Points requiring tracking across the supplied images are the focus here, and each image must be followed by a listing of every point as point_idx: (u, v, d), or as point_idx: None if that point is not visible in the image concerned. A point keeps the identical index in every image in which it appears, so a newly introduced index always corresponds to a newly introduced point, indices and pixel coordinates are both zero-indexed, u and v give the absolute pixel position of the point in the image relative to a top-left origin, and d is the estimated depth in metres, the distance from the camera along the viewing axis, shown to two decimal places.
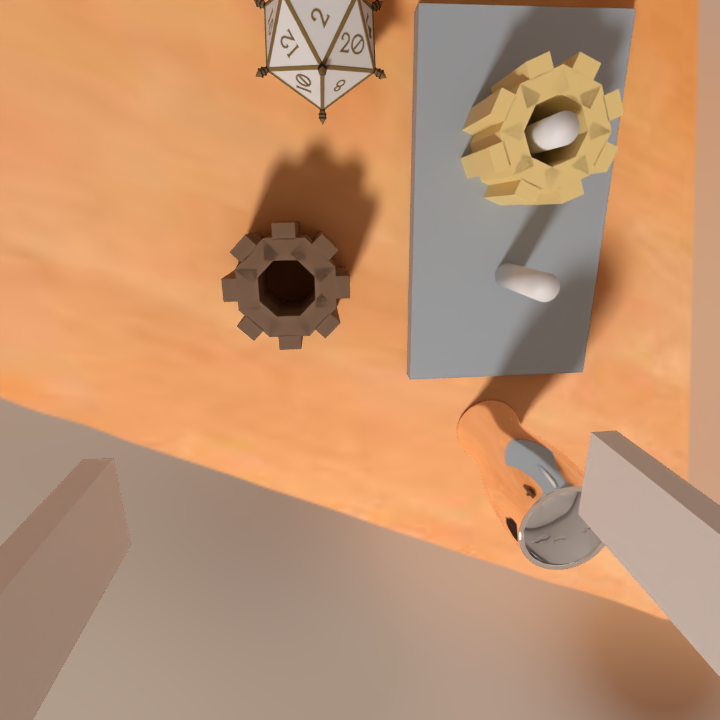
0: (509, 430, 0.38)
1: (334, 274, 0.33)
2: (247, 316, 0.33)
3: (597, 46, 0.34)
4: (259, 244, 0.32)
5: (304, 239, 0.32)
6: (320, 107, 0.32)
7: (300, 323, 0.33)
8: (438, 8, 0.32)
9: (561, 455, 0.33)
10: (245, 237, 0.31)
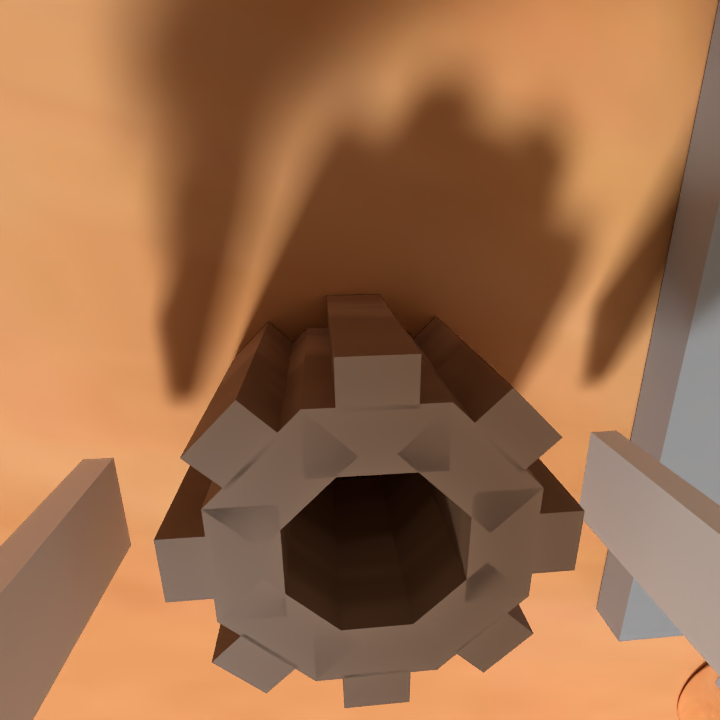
0: None
1: (537, 508, 0.10)
2: (245, 636, 0.10)
3: None
4: (289, 429, 0.09)
5: (450, 407, 0.09)
6: None
7: (413, 642, 0.11)
8: None
9: None
10: (237, 407, 0.08)
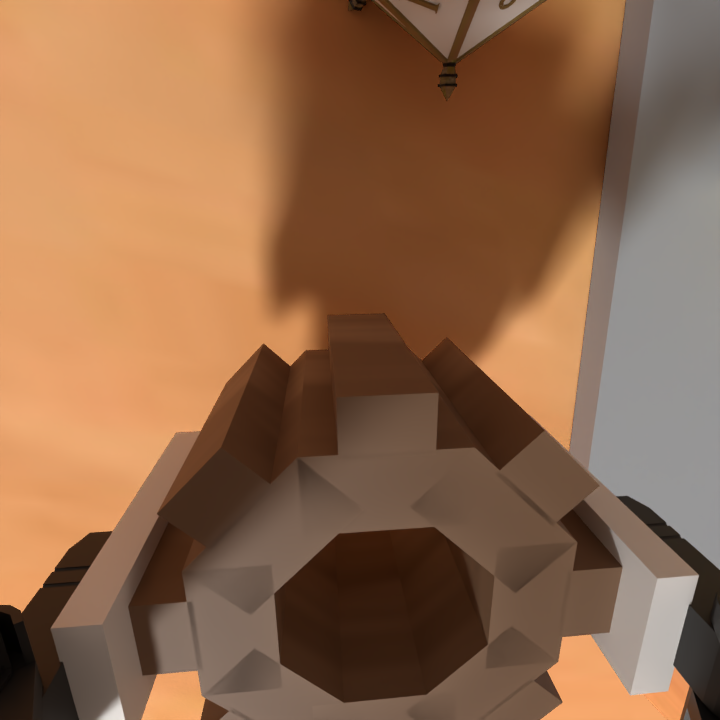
0: None
1: (569, 565, 0.08)
2: (234, 711, 0.09)
3: None
4: (283, 479, 0.07)
5: (472, 453, 0.08)
6: (447, 57, 0.13)
7: (426, 714, 0.09)
8: None
9: None
10: (223, 455, 0.07)
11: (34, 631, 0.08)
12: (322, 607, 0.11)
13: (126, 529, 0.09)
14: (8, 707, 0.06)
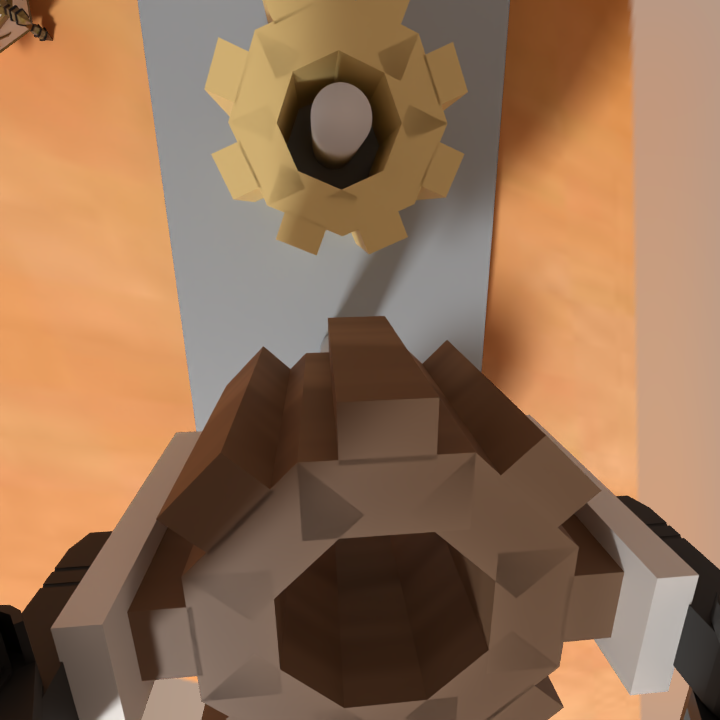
0: None
1: (570, 570, 0.08)
2: (234, 716, 0.09)
3: None
4: (283, 485, 0.07)
5: (473, 458, 0.08)
6: None
7: (427, 719, 0.09)
8: None
9: None
10: (223, 461, 0.07)
11: (34, 631, 0.08)
12: (322, 611, 0.11)
13: (126, 529, 0.09)
14: (8, 707, 0.06)
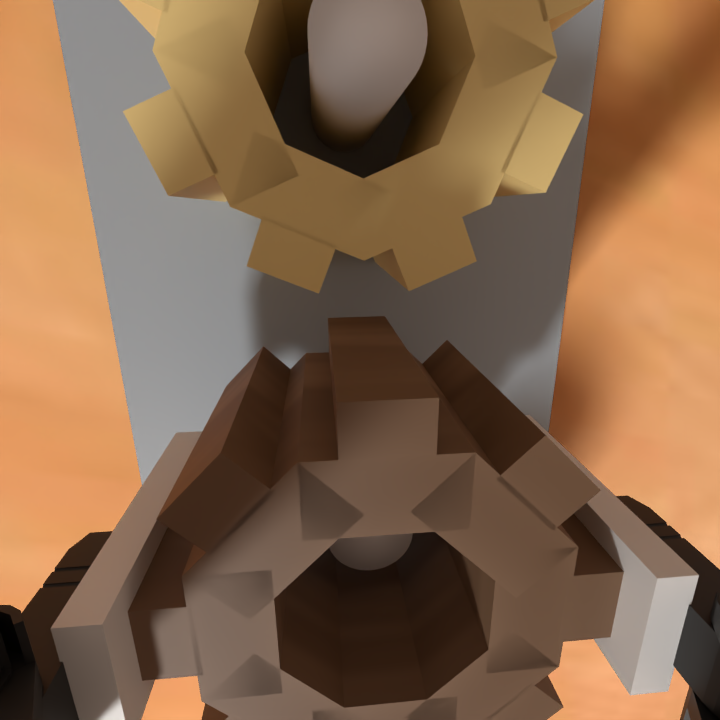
0: None
1: (570, 569, 0.08)
2: (234, 716, 0.09)
3: None
4: (284, 485, 0.07)
5: (472, 458, 0.08)
6: None
7: (427, 719, 0.09)
8: None
9: None
10: (223, 461, 0.07)
11: (34, 631, 0.08)
12: (322, 611, 0.11)
13: (126, 529, 0.09)
14: (9, 707, 0.06)
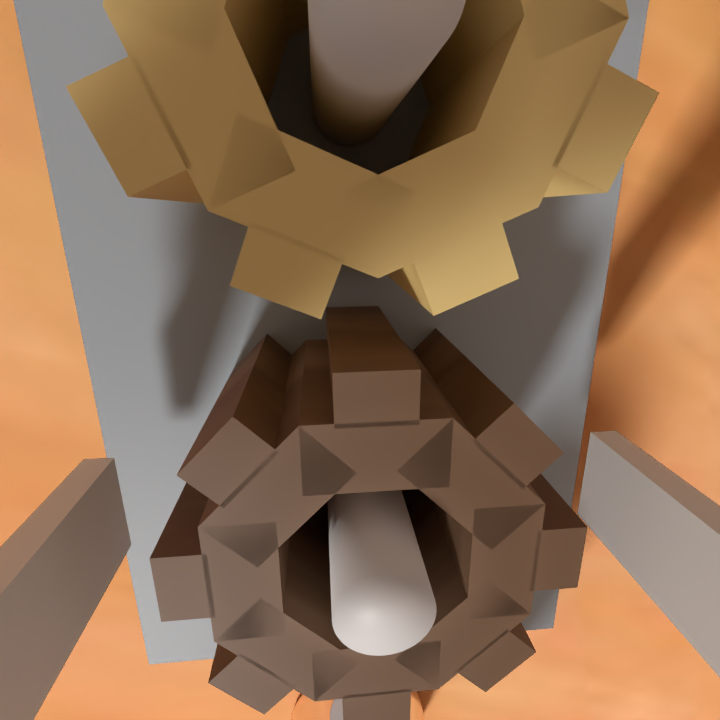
0: None
1: (539, 524, 0.10)
2: (243, 656, 0.10)
3: None
4: (287, 446, 0.08)
5: (450, 423, 0.09)
6: None
7: (413, 660, 0.10)
8: None
9: None
10: (234, 424, 0.08)
11: None
12: (321, 571, 0.12)
13: None
14: None
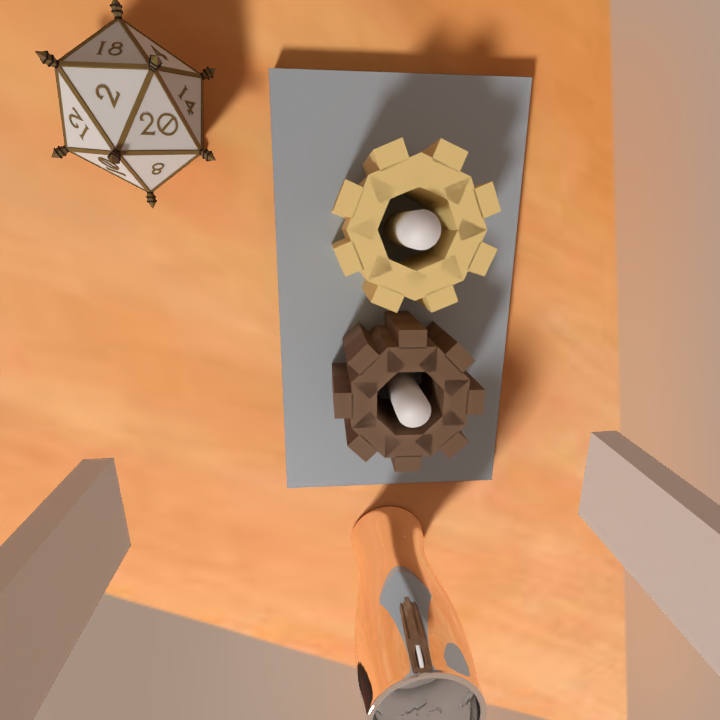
0: (392, 559, 0.32)
1: (467, 387, 0.27)
2: (360, 435, 0.27)
3: (488, 119, 0.29)
4: (383, 354, 0.26)
5: (436, 348, 0.26)
6: (145, 190, 0.26)
7: (422, 442, 0.28)
8: (293, 74, 0.27)
9: (436, 610, 0.27)
10: (367, 346, 0.26)
11: None
12: (385, 416, 0.29)
13: None
14: None
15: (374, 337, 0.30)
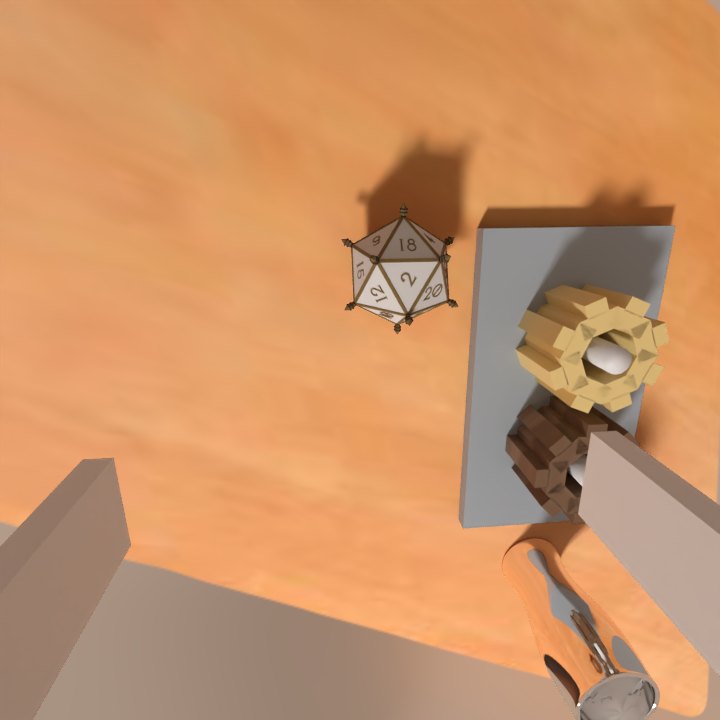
0: (556, 584, 0.42)
1: None
2: (551, 498, 0.37)
3: (640, 256, 0.38)
4: (574, 442, 0.35)
5: None
6: (396, 323, 0.35)
7: None
8: (500, 232, 0.36)
9: (609, 626, 0.37)
10: (564, 436, 0.35)
11: None
12: None
13: None
14: None
15: (550, 420, 0.39)
